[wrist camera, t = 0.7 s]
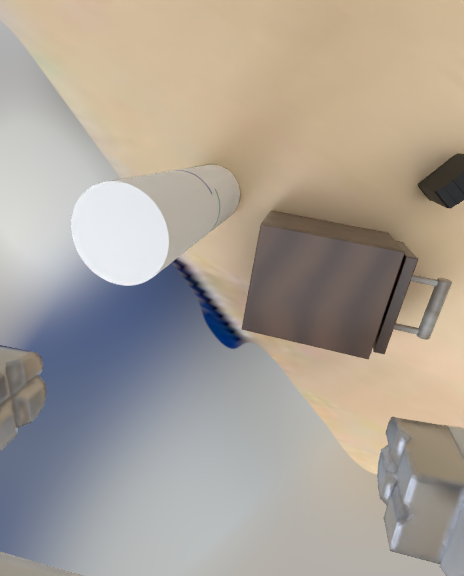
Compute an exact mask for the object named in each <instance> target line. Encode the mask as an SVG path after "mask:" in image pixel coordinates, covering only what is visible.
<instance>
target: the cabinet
mask: <svg viewBox="0 0 464 576" xmlns="http://www.w3.org/2000/svg"><path fill="white" fill-rule="evenodd" d="M404 253H405V252H404V251H403V250H402V248H401V247H400V246H399V245H398V244H397V243H396V241H395V240H394V239H393V238H392V237H391V235H390V234H389V233H386V232H381V231H375V230H370V229H365V228H360V227H354V226H349V225H344V224H339V223H333V222H328V221H323V220H318V219H312V218H307V217H302V216H297V215H291V214H286V213H281V212H275V211H270V212H269V214H268V215H267V217H266V218H265V219H264V221H263V222H262V223H261V226H260V232H259V237H258V243H257V248H256V254H255V259H254V264H253V270H252V275H251V281H250V286H249V292H248V297H247V303H246V308H245V314H244V319H243V325H242V329H243V330H247V331H251V332H255V333H260V334H264V335H268V336H272V337H276V338H281V339H285V340H289V341H293V342H298V343H302V344H306V345H310V346H314V347H319V348H323V349H327V350H331V351H336V352H340V353H344V354H348V355H353V356H357V357H361V358H365V359H369V356H370V354H371V351H372V348H373V345H374V342H375V339H376V336H377V333H378V330H379V327H380V324H381V321H382V318H383V315H384V312H385V309H386V306H387V304H388V301H389V298H390V295H391V292H392V289H393V286H394V283H395V280H396V277H397V274H398V271H399V268H400V265H401V262H402V259H403V256H404Z"/></svg>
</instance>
